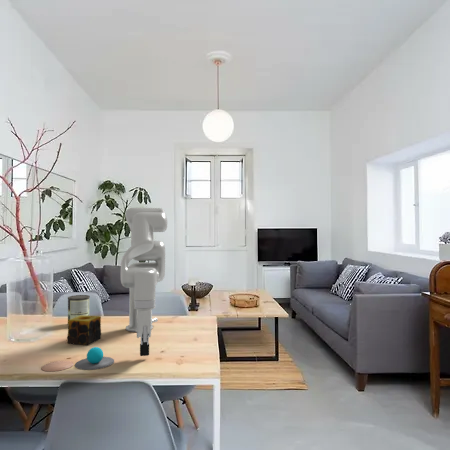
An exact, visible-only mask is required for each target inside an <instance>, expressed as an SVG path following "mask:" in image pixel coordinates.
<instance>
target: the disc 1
mask: <svg viewBox="0 0 450 450" xmlns="http://www.w3.org/2000/svg"><path fill="white" fill-rule="evenodd" d="M73 366H75V364H74V361H71V360H56V361H55V360H54V361H50V362H48V363H45V364H44V365H42V366H41V370H42V371H43V372H59V371H65V370H68V369H71V368H72V367H73Z"/></svg>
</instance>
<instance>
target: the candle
mask: <svg viewBox="0 0 450 450" xmlns="http://www.w3.org/2000/svg"><path fill="white" fill-rule="evenodd" d="M101 320H102V317H101V315H89V316H85V315H81V316H78V317H75V318H73V319H70V320H68V319H67V335H66V336H67V337H66V338H67V339H66V340H67V342H66V343H67V345H77V346H78V345H79V346H80V345H81V346H82V345H83V346H90V345H92V344H93V343H96V342H98V341H99V340H101V339H102V338H101V337H102V326H101V325H102V324H101V322H102V321H101Z"/></svg>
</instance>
